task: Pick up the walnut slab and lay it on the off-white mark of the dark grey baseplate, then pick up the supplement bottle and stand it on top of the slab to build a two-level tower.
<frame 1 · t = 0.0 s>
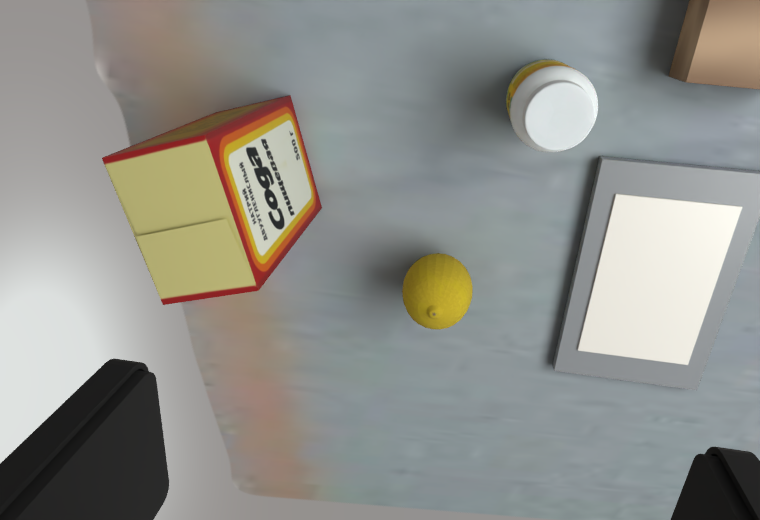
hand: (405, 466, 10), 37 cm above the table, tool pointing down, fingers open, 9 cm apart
baking soda box: (270, 160, 47), on the table
baseplate: (649, 277, 46), on the table
lemon: (439, 268, 49), on the table
supplement bottle: (541, 95, 42), on the table
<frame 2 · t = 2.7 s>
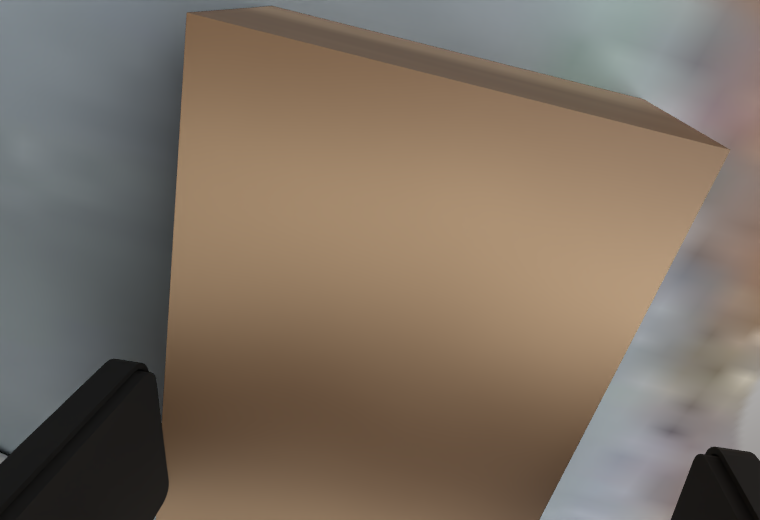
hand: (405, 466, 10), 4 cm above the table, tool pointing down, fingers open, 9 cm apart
walnut slab: (386, 313, 13), on the table, touching gripper
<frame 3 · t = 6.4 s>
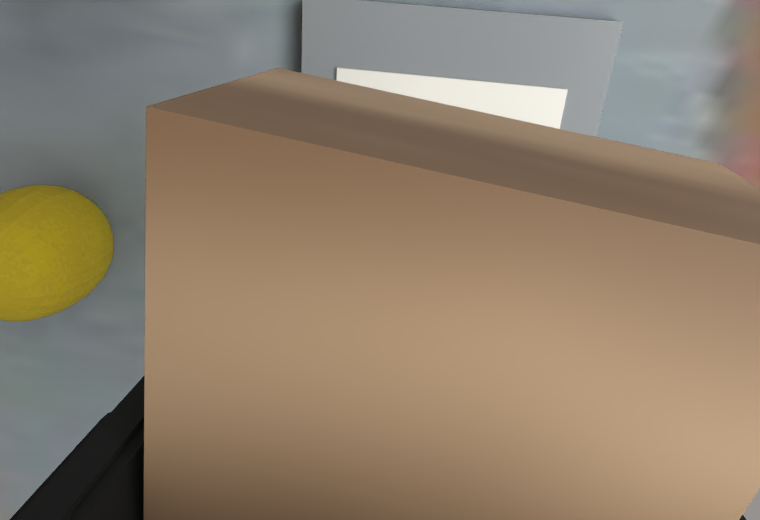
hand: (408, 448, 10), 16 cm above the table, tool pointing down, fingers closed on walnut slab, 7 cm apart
baseplate: (431, 232, 26), on the table
lemon: (94, 217, 29), on the table
walnut slab: (413, 411, 11), point 15 cm above the table, touching gripper
when the fingers open (3 cm above the table, at t = 9.6 s): walnut slab drops 1 cm, resting on baseplate.
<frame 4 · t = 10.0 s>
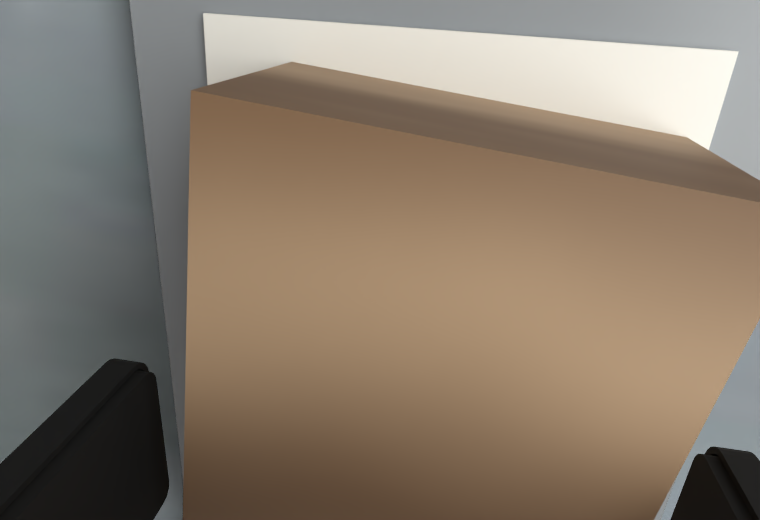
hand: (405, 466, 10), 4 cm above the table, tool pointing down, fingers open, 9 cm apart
baseplate: (423, 344, 13), on the table
walnut slab: (419, 374, 12), point 1 cm above the table, touching baseplate
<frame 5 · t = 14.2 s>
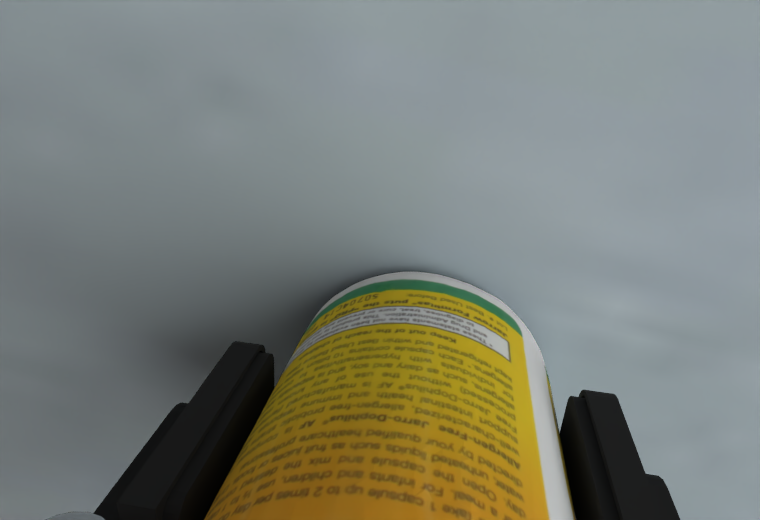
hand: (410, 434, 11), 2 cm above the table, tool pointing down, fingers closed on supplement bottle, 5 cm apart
supplement bottle: (419, 366, 13), on the table, touching gripper
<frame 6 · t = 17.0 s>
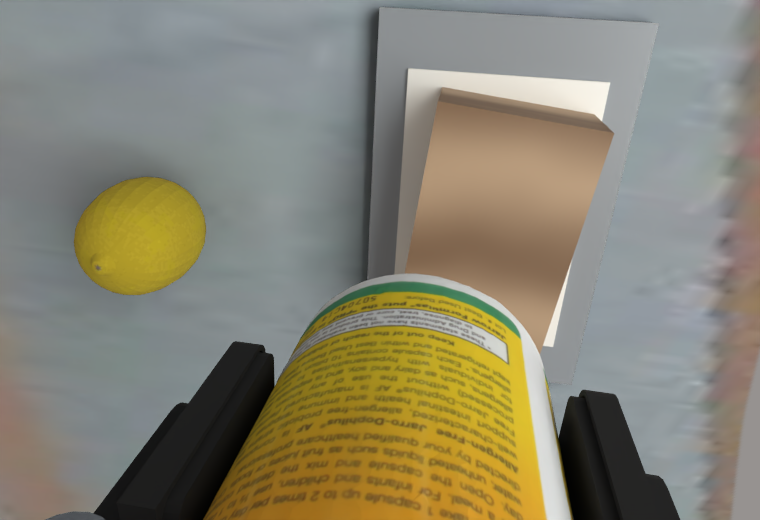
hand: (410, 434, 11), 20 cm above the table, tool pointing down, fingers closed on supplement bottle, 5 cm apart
baseplate: (486, 212, 29), on the table
lemon: (182, 206, 32), on the table
supplement bottle: (418, 368, 13), point 18 cm above the table, touching gripper
walnut slab: (487, 220, 28), point 1 cm above the table, touching baseplate
when the fingers open (8 cm above the table, at t = 19.8 s): supplement bottle drops 1 cm, resting on walnut slab.
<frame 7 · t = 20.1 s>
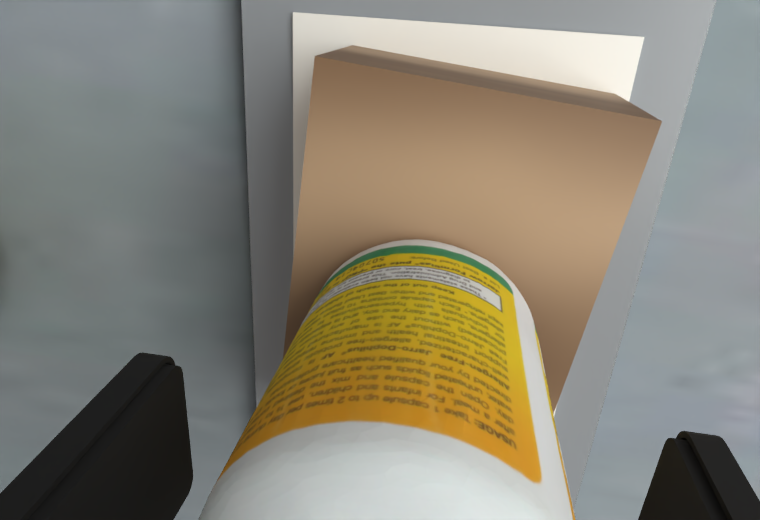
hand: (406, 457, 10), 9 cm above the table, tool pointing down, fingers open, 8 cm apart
baseplate: (437, 254, 18), on the table
supplement bottle: (420, 329, 14), point 5 cm above the table, touching walnut slab
walnut slab: (436, 270, 17), point 1 cm above the table, touching baseplate, supplement bottle
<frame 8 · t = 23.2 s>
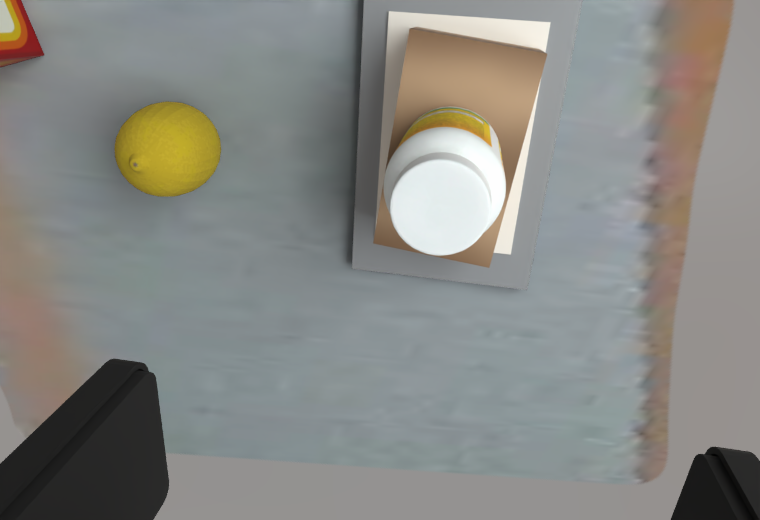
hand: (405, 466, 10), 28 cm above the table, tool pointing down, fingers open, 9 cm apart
baseplate: (454, 137, 35), on the table
lemon: (200, 135, 38), on the table
supplement bottle: (449, 153, 31), point 5 cm above the table, touching walnut slab
walnut slab: (454, 141, 34), point 1 cm above the table, touching baseplate, supplement bottle
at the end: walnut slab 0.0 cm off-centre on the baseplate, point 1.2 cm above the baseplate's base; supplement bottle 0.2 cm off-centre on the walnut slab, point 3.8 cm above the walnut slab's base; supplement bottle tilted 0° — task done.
